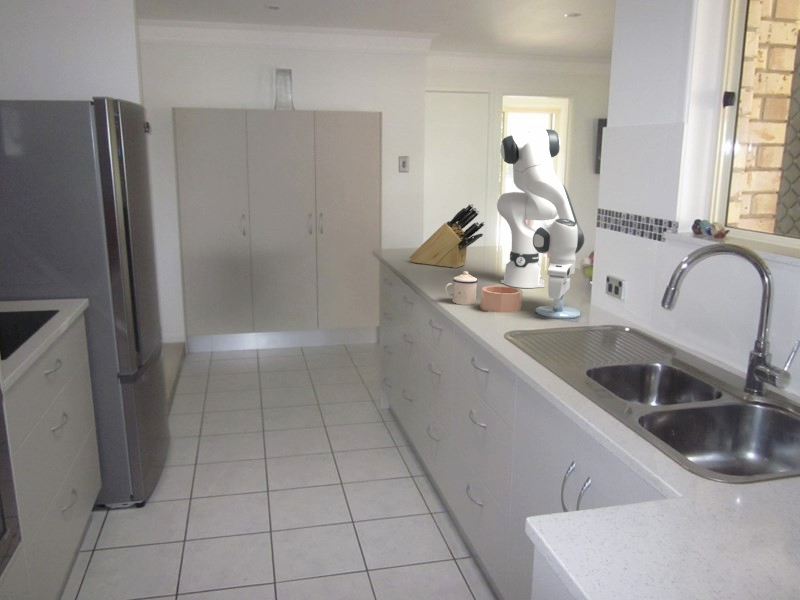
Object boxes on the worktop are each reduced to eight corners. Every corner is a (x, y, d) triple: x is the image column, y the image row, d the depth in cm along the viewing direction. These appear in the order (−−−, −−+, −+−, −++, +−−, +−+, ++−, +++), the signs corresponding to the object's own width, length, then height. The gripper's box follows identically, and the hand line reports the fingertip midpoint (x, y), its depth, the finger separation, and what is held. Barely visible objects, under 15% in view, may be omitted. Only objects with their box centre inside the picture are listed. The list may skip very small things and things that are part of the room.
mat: (539, 308, 235) (539, 306, 235) (584, 313, 229) (584, 312, 229) (529, 317, 221) (529, 315, 221) (576, 323, 215) (577, 322, 215)
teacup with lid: (473, 299, 245) (475, 269, 243) (478, 305, 237) (480, 274, 234) (442, 299, 244) (443, 269, 241) (446, 305, 235) (448, 273, 233)
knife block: (474, 271, 307) (478, 205, 300) (408, 263, 323) (411, 200, 316) (483, 267, 316) (487, 204, 309) (419, 260, 332) (421, 199, 326)
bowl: (487, 302, 241) (488, 284, 240) (524, 307, 236) (526, 288, 234) (475, 310, 229) (477, 291, 227) (514, 315, 223) (516, 295, 222)
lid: (540, 306, 235) (541, 292, 234) (582, 311, 229) (584, 297, 228) (531, 315, 221) (532, 301, 220) (576, 321, 216) (577, 306, 214)
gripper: (558, 261, 232) (554, 299, 235) (546, 270, 214) (542, 311, 217) (576, 263, 230) (572, 301, 233) (565, 272, 211) (561, 313, 214)
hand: (558, 306), depth 225 cm, fingers closed on lid, 3 cm apart
